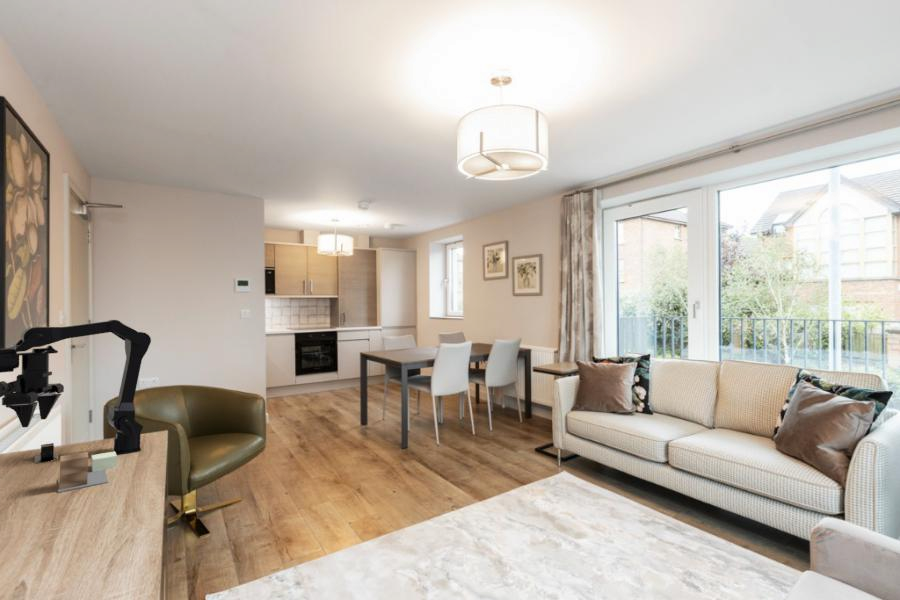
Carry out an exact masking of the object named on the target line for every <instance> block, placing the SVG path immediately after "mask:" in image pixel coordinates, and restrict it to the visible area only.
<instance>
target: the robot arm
mask: <svg viewBox="0 0 900 600" xmlns="http://www.w3.org/2000/svg"><path fill="white" fill-rule="evenodd" d="M107 333H112V334H113V335H114V336H116V337H118V338H120V339H121V340H122V341H123V342H124V351H125V358H126V359H125V363H124V368H123V374H122V378H121V383H120V387H119V393H118V395H117V396H118V397H117V401H116V402H115V404H114V405H109V406H108V413H107V415H106V417H105V418H106V420H108V423H109V425H110V426H111V427H113V428H114V429H115V431H116V434H115V437H114V438H113V452H114V451H115V452H116V455H123V454H128V453H134V452H139V451H142V448H141V434H142V433H141V432H142V430H143V429H144V426H143V425H142V424H140V423H139V422H138V421H136V408H135V396H136V391H137V386H138V381H139V376H140V371H141V366H142V361H143V358H144V357H145V355H146V353H147V352H148V350H149V347H150V345H151V343H152V338H151V336H150V335H149V334H148V333H146V332H143V331H137V330H135V329H134V328H131V326H129V325H128V326H127V324H124V323H123V322H122V321H120V320H117V319H109V320H106V321H99V322H97V321H96V322H92V323H91V322H90V323H89V322H88V323H83V324H75V325H68V326H32V327H28V328H26V329H24V331H22V332H21V335H20V340H18V341H17V342H16V344H14V345H13V346H12V347H11V348H0V374H1V373H11V372H14V370H15V369H18V368H19V367H20V356H21V374H17V376H16V379H15V380H13V381H9V382H6V381H5V380H2V381H0V398H1V406H5V407H6V409H7V408H9V409H11V410H13V411H14V412H15V414H16V416H17V418H18V420H19V423H20V425H21V428H28V427H29V425H30V424H31V421H32V418H33V416H34V414H35V411H36V408H37V405H38V408H39V416H40V420H46V419H47V418H48V417H49V415H50V413H51V411H52V409H53V407H54V406H55V404H56V403H57V402H58V399H59V398H60V396H62V393H64V391H65V390H64V389H65V388H64V387H65V386H64V385H63V384H62V383H61V382H59V383H49V381H50V380H49V378H50V376H52V375H53V371H49V370H50V368H49V367H50V366H49V365H50V354H58V352H59V351H58V349H55V348H54V347H53V346H52V345H51V344H54V343H58V342H60V341H64V340H66V339H67V340H68V339H74V338H81V337H86V336H94V335H100V334H107ZM44 346H46V347H44ZM41 347H42V348H41ZM29 350H31V351H29ZM27 351H29V352H27Z"/></svg>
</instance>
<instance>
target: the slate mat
mask: <svg viewBox="0 0 900 600" xmlns="http://www.w3.org/2000/svg"><path fill="white" fill-rule="evenodd" d="M59 480H60V477H58V479H57V493H59V494H60V493H64V492H67V491H74V490H78V489H84V488H89V487H94V486H99V485H103V484H108V483H109V480H108V476H107V473H106V469H105V470H100V471H94V472H92V471H90V472H89V471H88V478H87V484H86V485H81V486H76V487H71V488H66V489H61V490H59Z"/></svg>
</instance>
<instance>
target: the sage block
mask: <svg viewBox="0 0 900 600" xmlns="http://www.w3.org/2000/svg"><path fill="white" fill-rule="evenodd" d="M117 461H118V454H116V452H115V451H114V450H113V451H109V452H108V451H107V452H103V453H97V454H91V462H90V463H91V465H90V468H91V472H94V471H100V470H105V471H106V470H109V469H115V468H117V467H118V466H117V464H118V462H117Z"/></svg>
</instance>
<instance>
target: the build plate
mask: <svg viewBox="0 0 900 600" xmlns="http://www.w3.org/2000/svg"><path fill="white" fill-rule="evenodd" d="M57 454H58V455H59V453H58V452H55V443H54V442H51V443H44V444H41V445H40V455H35V456H34V464H41V463H48V461H49V462H52V461H51V460H54V459H57ZM54 461H55V460H54Z"/></svg>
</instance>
